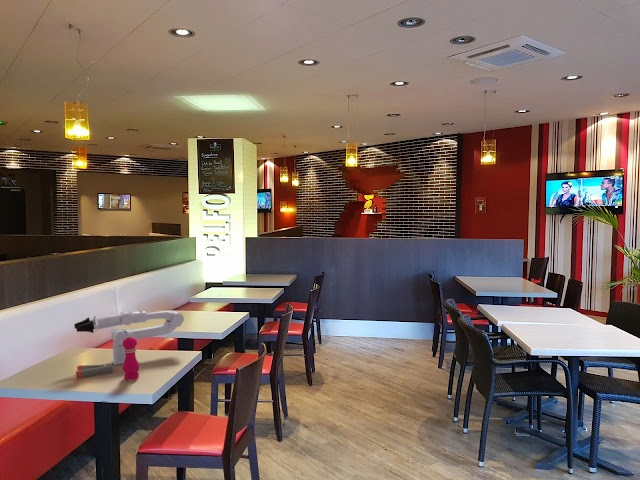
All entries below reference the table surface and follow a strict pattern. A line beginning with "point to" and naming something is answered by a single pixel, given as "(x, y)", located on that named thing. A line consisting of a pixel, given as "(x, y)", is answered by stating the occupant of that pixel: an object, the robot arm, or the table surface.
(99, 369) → the tongs body
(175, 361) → the table surface
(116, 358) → the robot arm
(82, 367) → the tongs jaw
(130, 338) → the pepper mill
